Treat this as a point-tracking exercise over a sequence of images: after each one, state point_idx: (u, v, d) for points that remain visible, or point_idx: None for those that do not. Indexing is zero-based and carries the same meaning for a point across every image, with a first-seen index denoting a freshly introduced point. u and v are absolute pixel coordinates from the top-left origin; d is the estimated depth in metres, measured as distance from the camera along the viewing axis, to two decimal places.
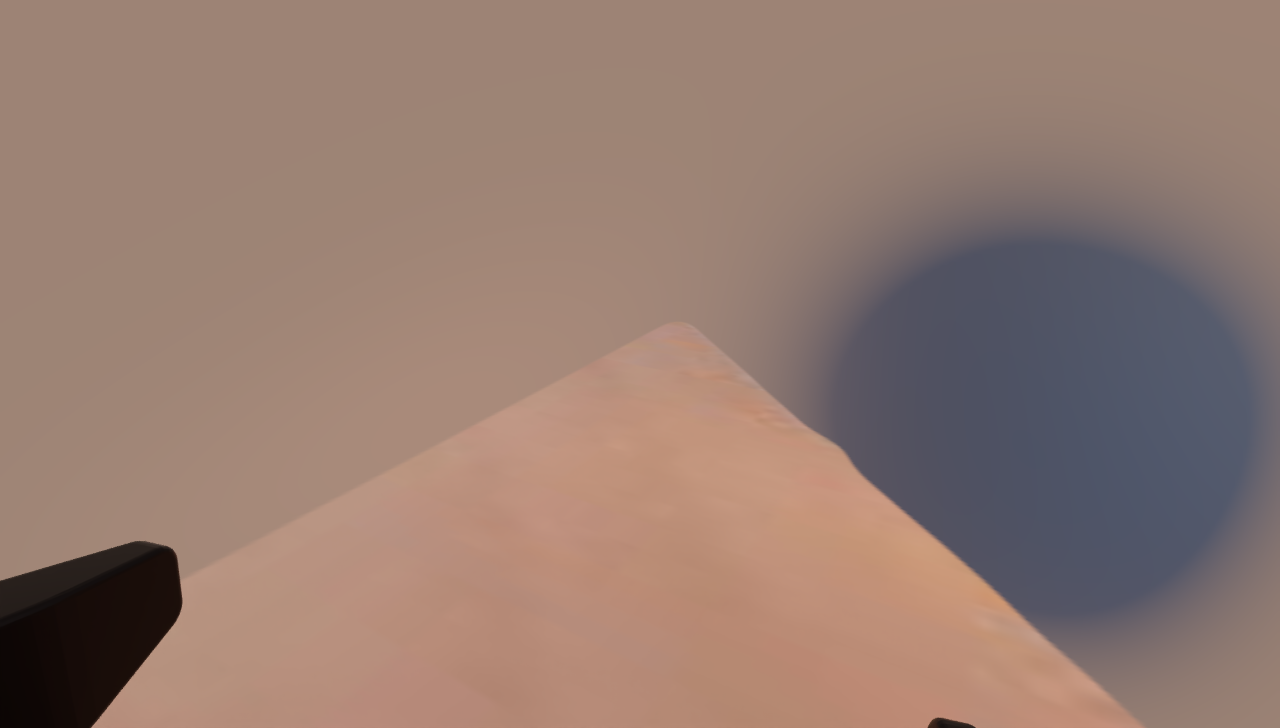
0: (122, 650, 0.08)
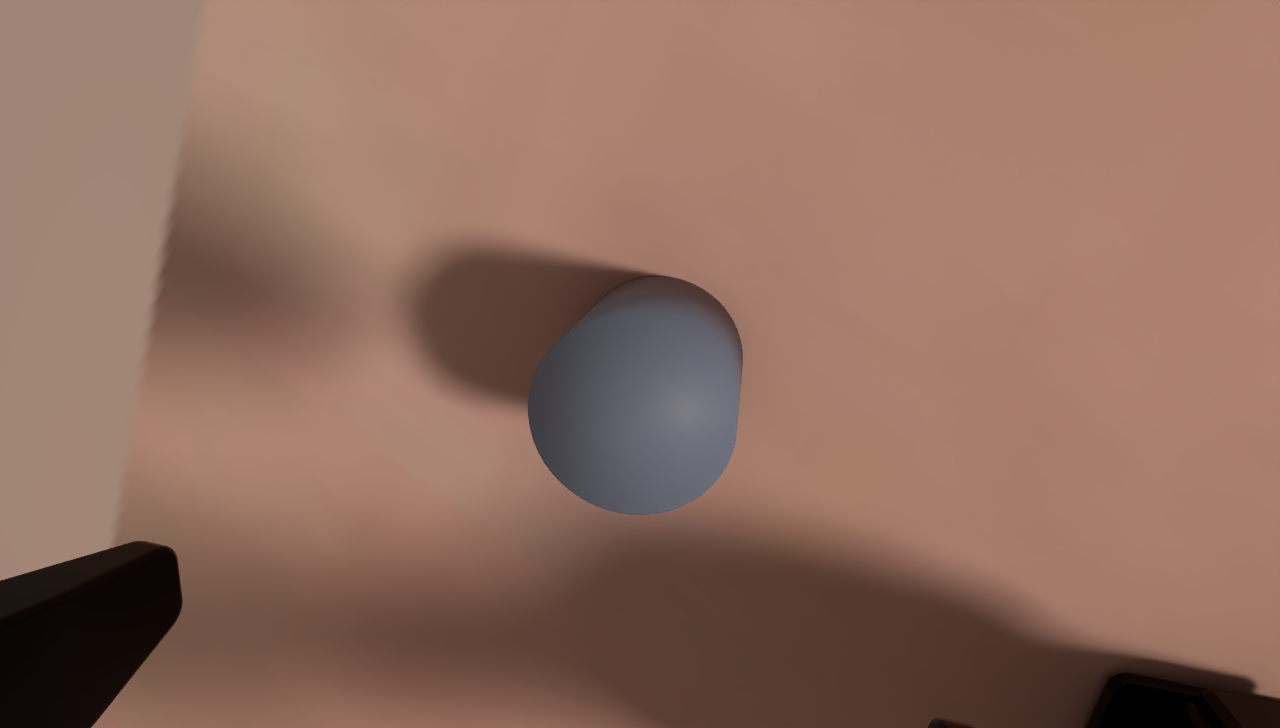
0: (122, 650, 0.08)
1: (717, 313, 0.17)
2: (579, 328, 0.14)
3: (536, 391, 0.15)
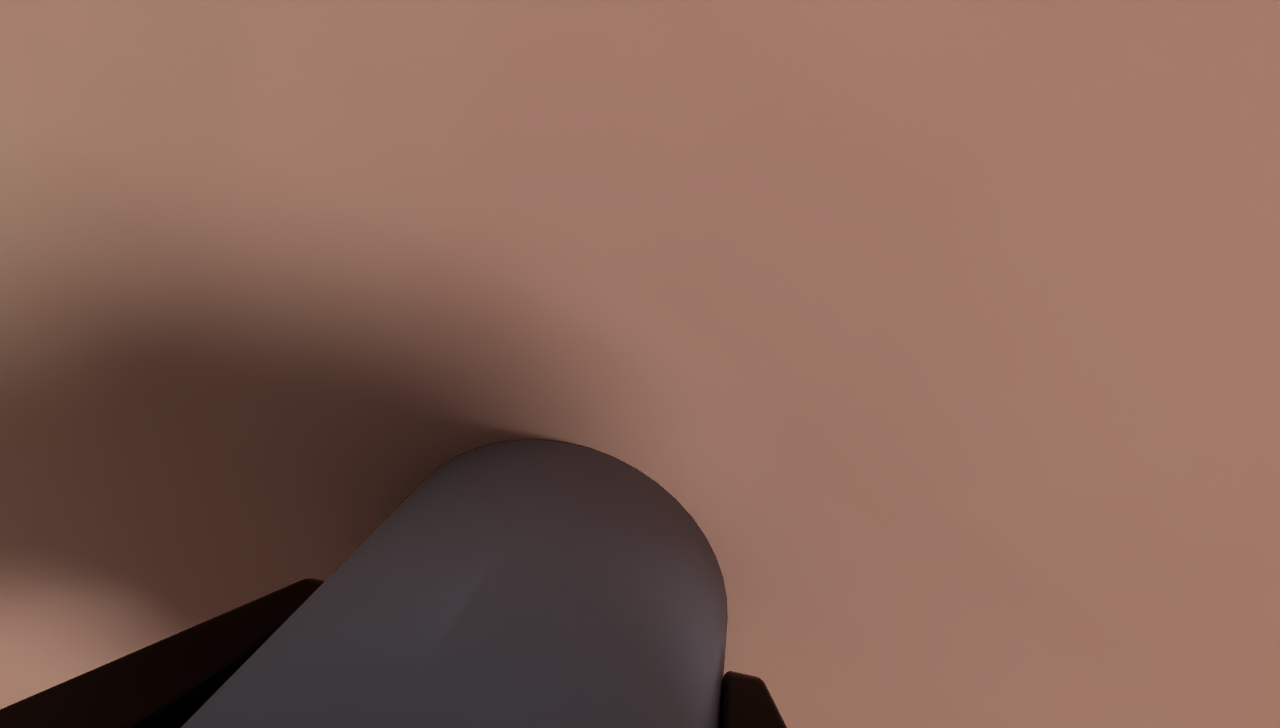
0: None
1: (663, 559, 0.07)
2: None
3: None
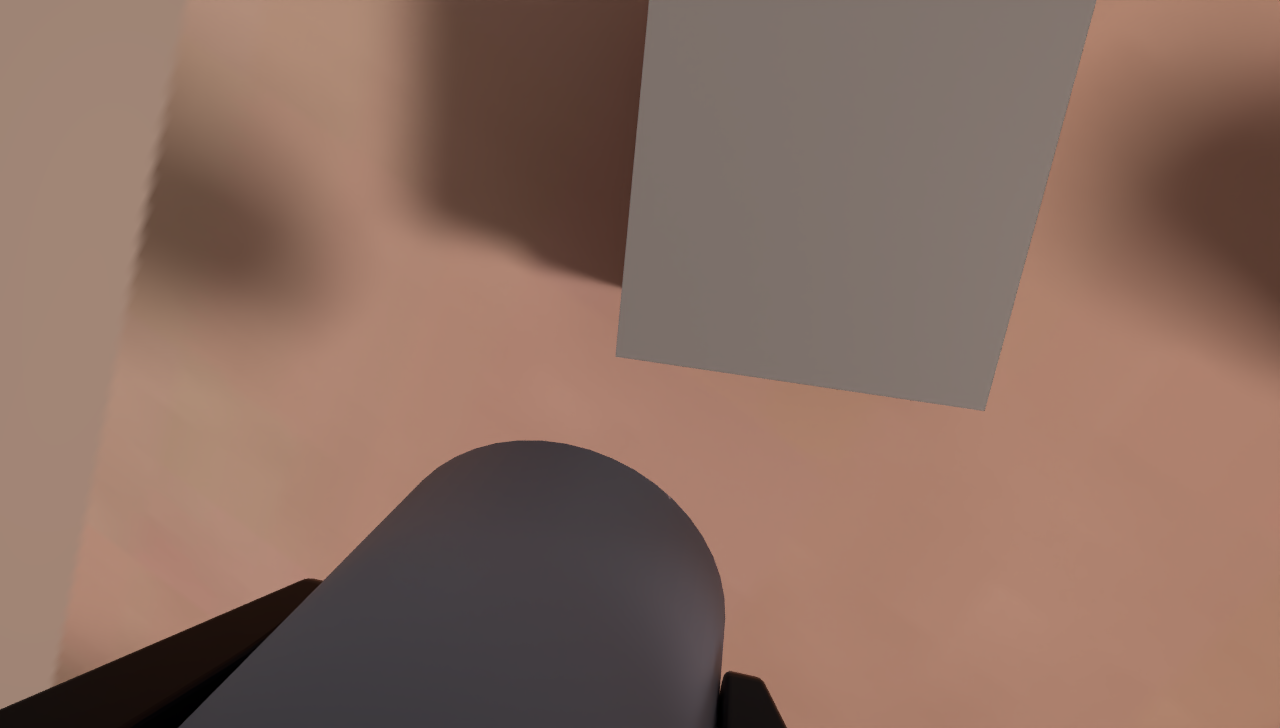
0: None
1: (660, 560, 0.07)
2: None
3: None
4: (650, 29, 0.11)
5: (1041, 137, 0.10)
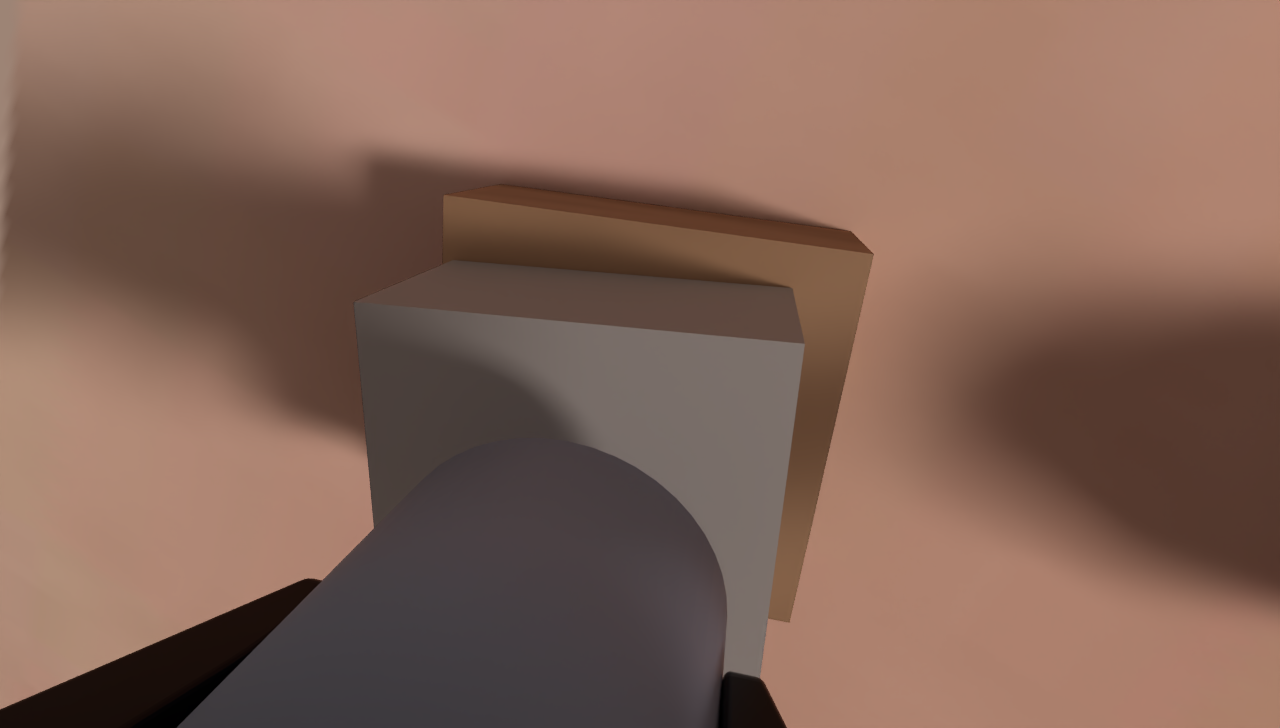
0: None
1: (663, 557, 0.07)
2: None
3: None
4: (362, 366, 0.10)
5: (769, 476, 0.10)
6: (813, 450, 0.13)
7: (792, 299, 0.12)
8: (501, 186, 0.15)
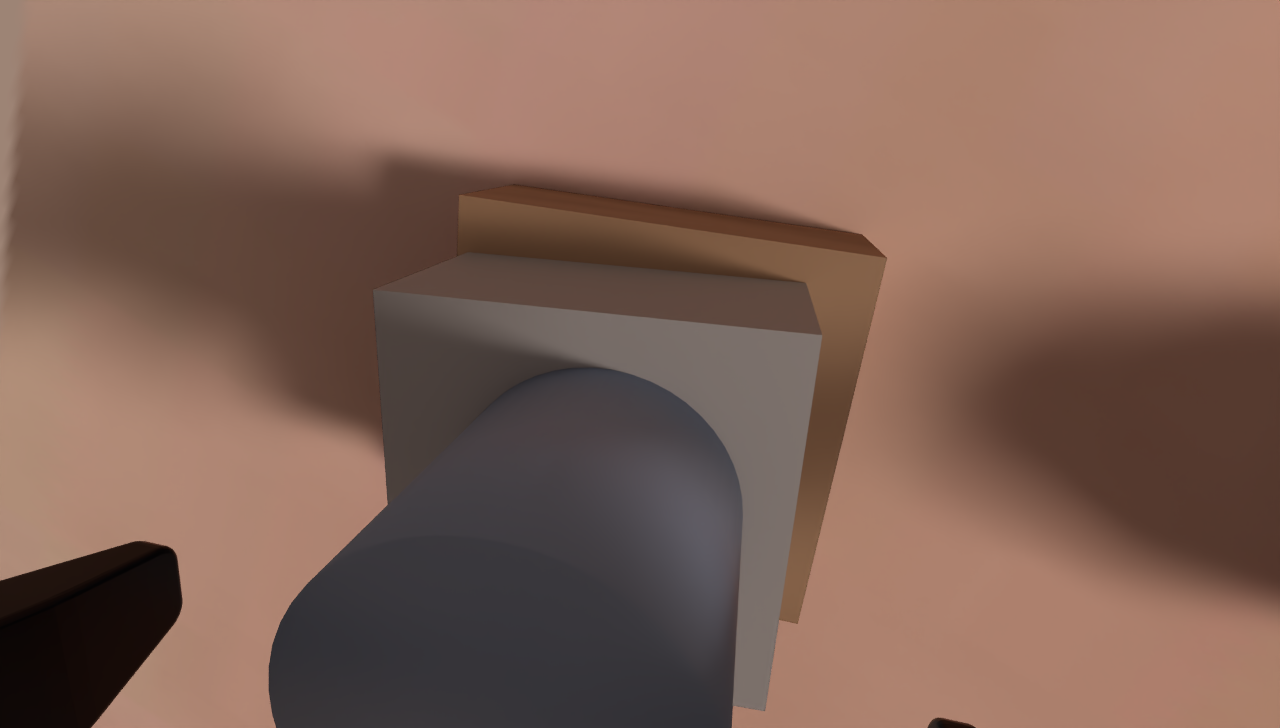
0: (122, 650, 0.08)
1: (694, 452, 0.09)
2: (358, 552, 0.06)
3: (281, 669, 0.07)
4: (380, 354, 0.10)
5: (785, 467, 0.10)
6: (824, 452, 0.13)
7: (807, 293, 0.12)
8: (514, 186, 0.15)
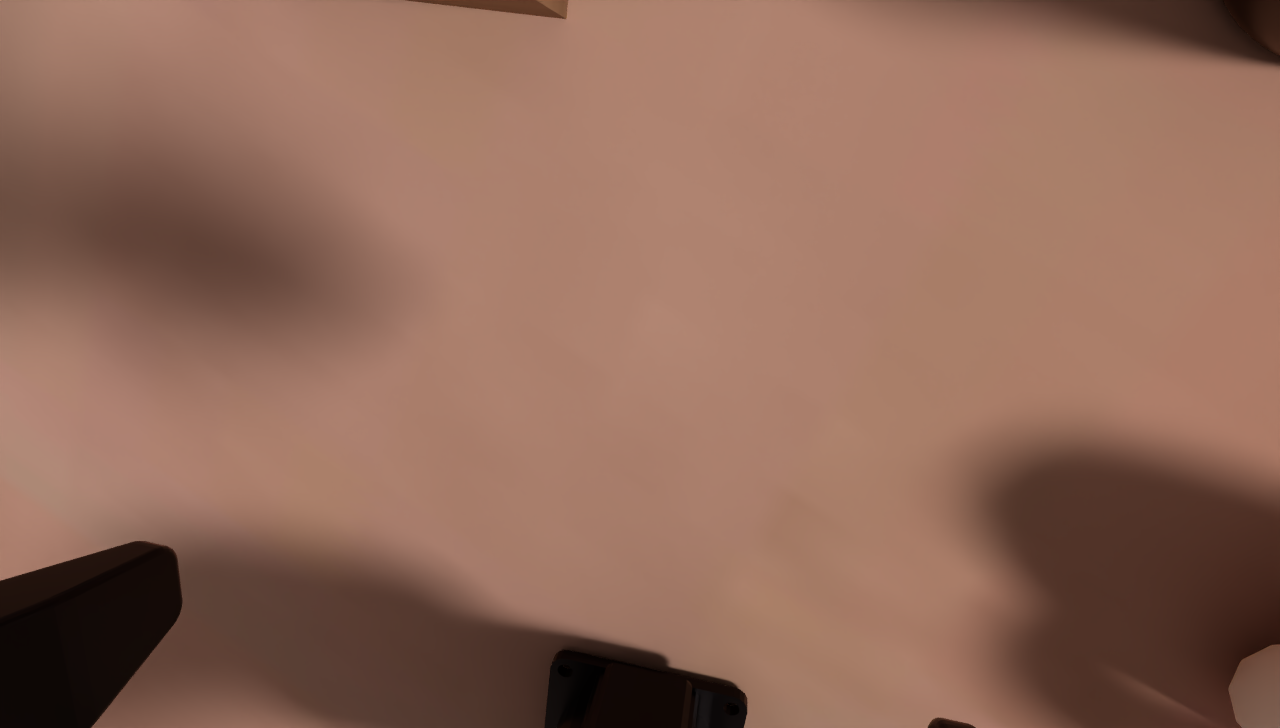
0: (122, 650, 0.08)
1: None
2: None
3: None
4: None
5: None
6: None
7: None
8: None
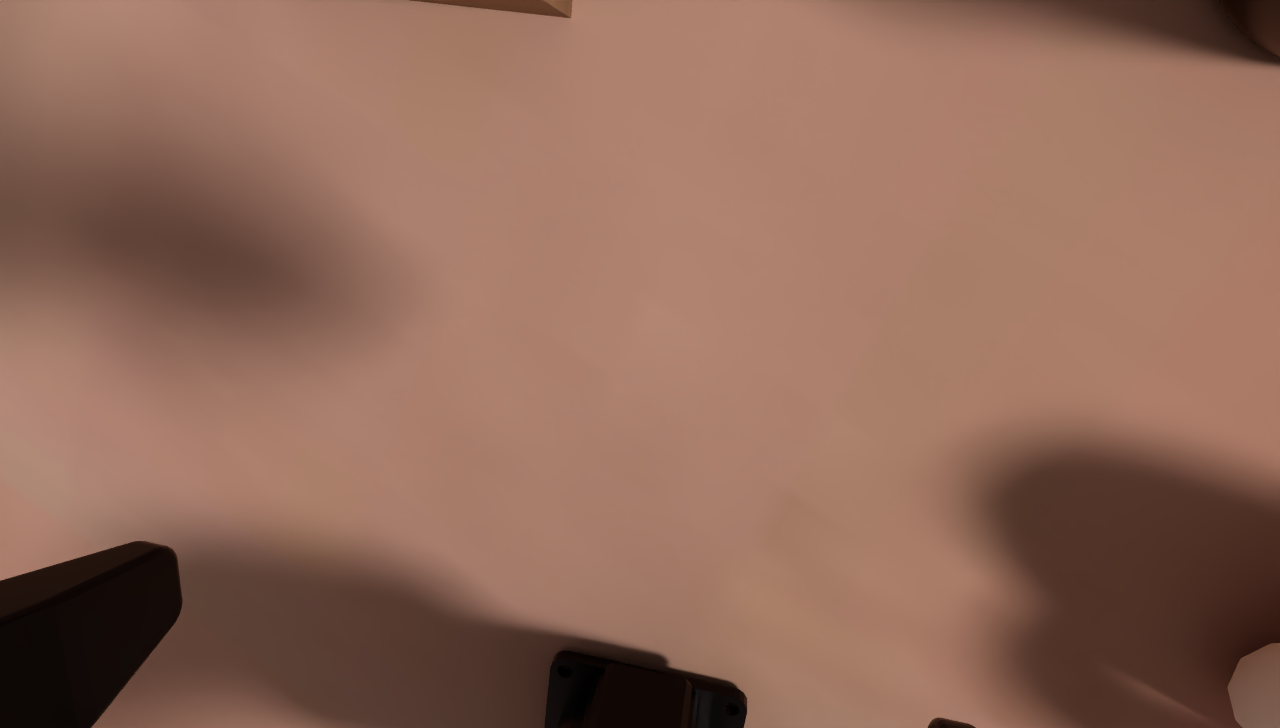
0: (122, 650, 0.08)
1: None
2: None
3: None
4: None
5: None
6: None
7: None
8: None
